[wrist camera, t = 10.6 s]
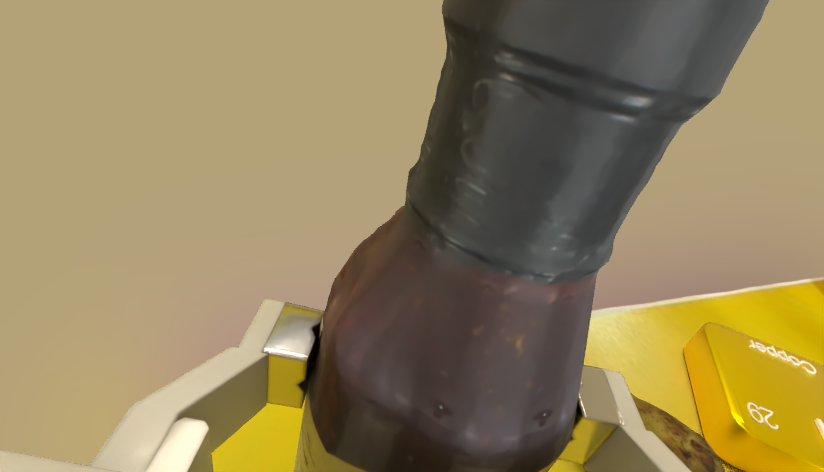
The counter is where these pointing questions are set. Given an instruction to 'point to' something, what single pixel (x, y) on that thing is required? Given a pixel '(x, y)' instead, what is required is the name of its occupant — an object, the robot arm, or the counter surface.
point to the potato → (679, 438)
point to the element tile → (757, 401)
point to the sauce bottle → (507, 232)
